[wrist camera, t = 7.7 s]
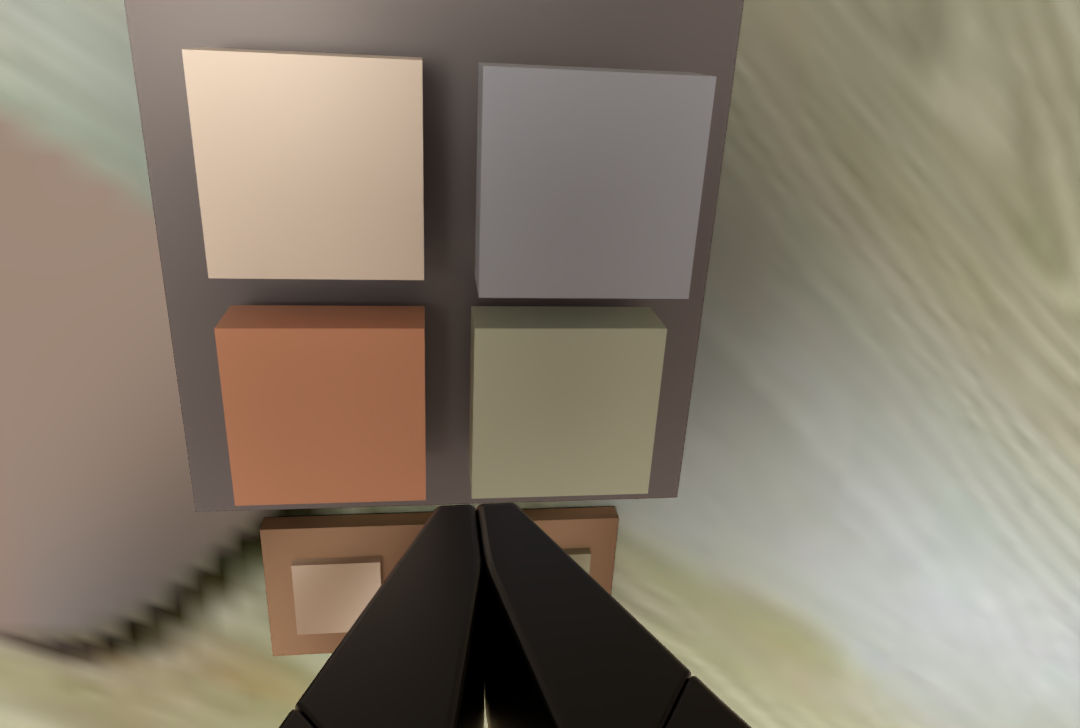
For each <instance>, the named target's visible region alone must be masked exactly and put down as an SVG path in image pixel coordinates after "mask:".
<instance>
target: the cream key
mask: <svg viewBox="0 0 1080 728" xmlns="http://www.w3.org/2000/svg"><path fill="white" fill-rule="evenodd" d="M182 57H183V65H184V74H185V82H186V91H187V99H188V108H189V116H190V125H191V133H192V142H193V151H194V159H195V168H196V176H197V185H198V193H199V202H200V210H201V219H202V227H203V236H204V245H205V253H206V262H207V270H208V278H226V279H342V280H424V166H423V57H402V56H381V55H359V54H338V53H317V52H296V51H274V50H253V49H232V48H211V47H199V48H189V49H182Z"/></svg>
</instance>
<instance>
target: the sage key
mask: <svg viewBox="0 0 1080 728" xmlns="http://www.w3.org/2000/svg"><path fill="white" fill-rule="evenodd" d="M666 335H667V328H666V326H665V325H664V324H663V323H662V321H661V320H660V319H659V318H658V316H657V315H656V314H655V312H654V311H653V310H652V309H651V307H564V306H471V347H470V411H469V476H470V487H471V497H472V499H482V498H516V497H550V496H584V495H618V494H648V488H649V480H650V471H651V463H652V454H653V446H654V437H655V429H656V420H657V412H658V403H659V395H660V386H661V378H662V369H663V361H664V352H665V344H666Z"/></svg>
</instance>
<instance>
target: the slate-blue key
mask: <svg viewBox="0 0 1080 728" xmlns="http://www.w3.org/2000/svg"><path fill="white" fill-rule="evenodd" d="M716 78H717V77H716V76H711V75H705V74H699V73H693V72H676V71H655V70H633V69H612V68H591V67H569V66H548V65H526V64H505V63H484V62H478V108H477V166H476V224H475V281H476V286H477V291H478V296H479V298H620V299H689V291H690V283H691V275H692V267H693V259H694V252H695V244H696V236H697V228H698V220H699V212H700V204H701V196H702V188H703V180H704V173H705V165H706V157H707V149H708V141H709V133H710V125H711V117H712V109H713V101H714V93H715V86H716Z"/></svg>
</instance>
